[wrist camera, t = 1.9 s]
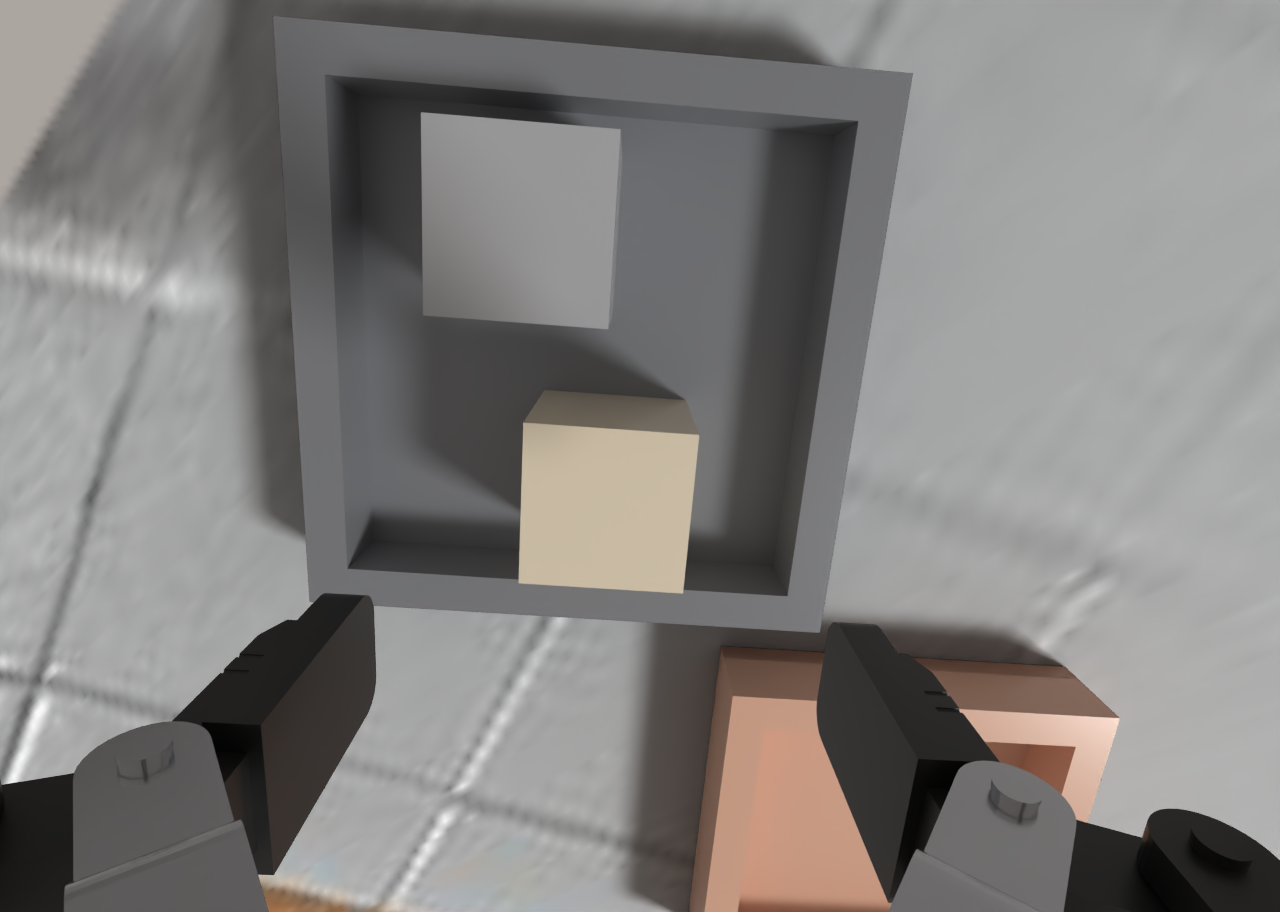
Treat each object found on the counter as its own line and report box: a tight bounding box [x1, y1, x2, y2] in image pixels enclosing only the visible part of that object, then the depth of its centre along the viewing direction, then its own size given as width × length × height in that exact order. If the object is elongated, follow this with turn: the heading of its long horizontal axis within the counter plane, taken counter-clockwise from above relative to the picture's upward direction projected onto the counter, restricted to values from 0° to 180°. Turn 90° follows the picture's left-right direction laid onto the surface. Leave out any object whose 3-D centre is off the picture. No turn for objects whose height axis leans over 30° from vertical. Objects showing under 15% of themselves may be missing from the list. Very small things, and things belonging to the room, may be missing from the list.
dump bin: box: [689, 646, 1120, 912], centre depth 26 cm, size 13×13×3 cm
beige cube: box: [519, 390, 699, 594], centre depth 20 cm, size 4×4×4 cm
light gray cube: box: [421, 112, 623, 329], centre depth 18 cm, size 4×4×4 cm
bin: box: [273, 16, 913, 633], centre depth 21 cm, size 16×16×3 cm
